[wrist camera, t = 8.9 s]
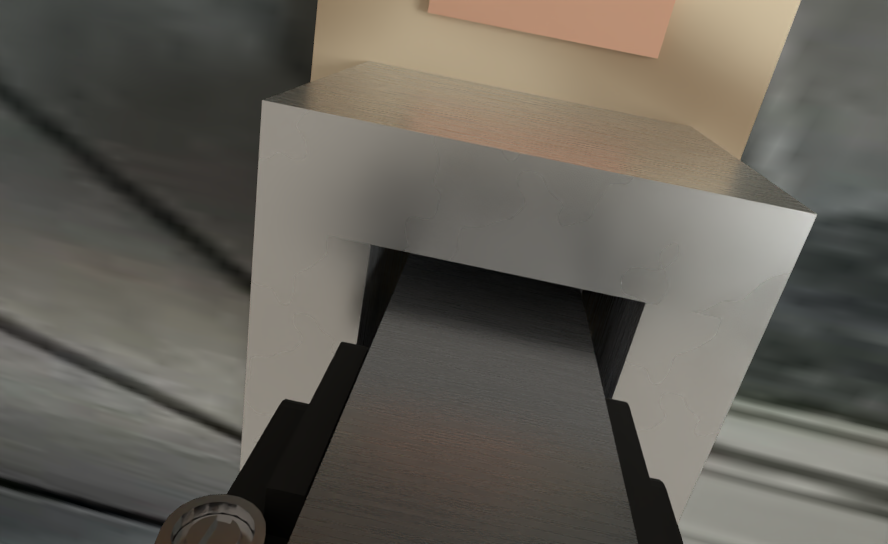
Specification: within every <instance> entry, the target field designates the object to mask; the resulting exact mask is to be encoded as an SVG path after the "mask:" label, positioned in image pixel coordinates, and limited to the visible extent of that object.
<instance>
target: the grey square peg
mask: <svg viewBox="0 0 888 544" xmlns="http://www.w3.org/2000/svg"><path fill="white" fill-rule="evenodd" d="M288 544H638V541H637V537H636V533H635V528H634V524H633V519H632V515H631V511H630V506H629V502H628V497H627V493H626V489H625V484H624V480H623V475H622V471H621V467H620V462H619V458H618V454H617V449H616V445H615V440H614V436H613V432H612V427H611V423H610V418H609V414H608V410H607V405H606V401H605V396H604V392H603V388H602V383H601V379H600V375H599V370H598V366H597V361H596V357H595V353H594V348H593V344H592V339H591V335H590V331H589V326H588V322H587V317H586V313H585V309H584V304H583V300H582V296H581V291H580V289H579V288H575V287H570V286H565V285H560V284H556V283H551V282H546V281H541V280H537V279H532V278H527V277H523V276H518V275H513V274H508V273H504V272H499V271H494V270H489V269H485V268H480V267H475V266H471V265H466V264H461V263H456V262H452V261H447V260H442V259H437V258H433V257H428V256H423V255H419V254H414V253H410V254H409V257H408V259H407V262H406V264H405V266H404V269H403V271H402V273H401V276H400V278H399V281H398V283H397V285H396V288H395V290H394V292H393V295H392V297H391V300H390V302H389V304H388V307H387V309H386V311H385V314H384V316H383V319H382V321H381V323H380V326H379V328H378V330H377V333H376V335H375V337H374V340H373V342H372V345H371V347H370V349H369V352H368V354H367V356H366V359H365V361H364V364H363V366H362V368H361V371H360V373H359V375H358V378H357V380H356V383H355V385H354V387H353V390H352V392H351V394H350V397H349V399H348V402H347V404H346V406H345V409H344V411H343V413H342V416H341V418H340V421H339V423H338V425H337V428H336V430H335V432H334V435H333V437H332V440H331V442H330V444H329V447H328V449H327V451H326V454H325V456H324V458H323V461H322V463H321V466H320V468H319V470H318V473H317V475H316V477H315V480H314V482H313V485H312V487H311V489H310V492H309V494H308V496H307V499H306V501H305V504H304V506H303V508H302V511H301V513H300V515H299V518H298V520H297V523H296V525H295V527H294V530H293V532H292V534H291V537H290V539H289V542H288Z"/></svg>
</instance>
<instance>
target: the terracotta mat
mask: <svg viewBox="0 0 888 544" xmlns="http://www.w3.org/2000/svg"><path fill="white" fill-rule="evenodd" d="M675 1H676V0H430V1H429V7H428V13H432V14H437V15H442V16H447V17H452V18H457V19H462V20H467V21H472V22H477V23H482V24H487V25H492V26H497V27H502V28H507V29H512V30H517V31H522V32H527V33H532V34H537V35H542V36H547V37H552V38H557V39H562V40H567V41H572V42H577V43H582V44H587V45H592V46H597V47H602V48H607V49H612V50H617V51H622V52H627V53H632V54H637V55H642V56H647V57H652V58H657V59H658V56H659V53H660V50H661V47H662V43H663V40H664V37H665V33H666V30H667V27H668V24H669V20H670V17H671V14H672V11H673V7H674V4H675Z"/></svg>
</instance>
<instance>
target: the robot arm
mask: <svg viewBox="0 0 888 544" xmlns="http://www.w3.org/2000/svg"><path fill="white" fill-rule="evenodd" d="M369 349H370V348H369V347H366V346H361V345H357V344H352V343H347V342H341V343H340V345H339V347H338V349H337V351H336V353H335V355H334V356H333V358H332V360H331V362H330V364H329V366H328V368H327V370H326V372H325V374H324V376H323V378H322V380H321V382H320V384H319V386H318V388H317V390H316V391H315V393H314V395H313V397H312V399H311V401H310V403H309V404H307V403H303V402H298V401H293V400H289V399H284V400H283V401H282V402H281V403H280V405H279V406H278V408H277V410H276V411H275V413H274V415H273V417H272V418H271V420H270V422H269V423H268V425H267V427H266V428H265V430H264V432H263V434H262V435H261V437H260V439H259V440H258V442H257V444H256V446H255V447H254V449H253V451H252V452H251V454H250V456H249V457H248V459H247V461H246V463H245V464H244V466H243V468H242V469H241V471H240V473H239V475H238V476H237V478H236V480H235V481H234V483H233V485H232V486H231V488H230V490H229V492H228V493H227V494H218V495H207V496H204V497H200V498H196V499H193V500H191V501H189V502H187V503H185V504H183V505H182V506H180V507H179V508H178V509H176V510H175V511H174V512H173V513H172V514H171V515H169V516H168V518H167V520H166V521H165V523H164V524H163V526H162V527H161V529H160V532H159V534H158V537H157V539H156V541H155V544H288V542H289V539H290V537H291V534H292V532H293V530H294V527H295V525H296V523H297V520H298V518H299V515H300V513H301V511H302V508H303V506H304V504H305V501H306V499H307V496H308V494H309V492H310V489H311V487H312V485H313V482H314V480H315V477H316V475H317V473H318V470H319V468H320V466H321V463H322V461H323V458H324V456H325V454H326V451H327V449H328V447H329V444H330V442H331V440H332V437H333V435H334V432H335V430H336V428H337V425H338V423H339V421H340V418H341V416H342V413H343V411H344V409H345V406H346V404H347V402H348V399H349V397H350V394H351V392H352V390H353V387H354V385H355V383H356V380H357V378H358V375H359V373H360V371H361V368H362V366H363V364H364V361H365V359H366V356H367V354H368V352H369ZM605 401H606V405H607V410H608V414H609V418H610V423H611V427H612V432H613V436H614V440H615V445H616V449H617V454H618V458H619V462H620V467H621V471H622V475H623V480H624V484H625V489H626V493H627V497H628V502H629V506H630V511H631V515H632V519H633V524H634V528H635V533H636V537H637V541H638V544H683V541H682V538H681V534H680V531H679V528H678V525H677V522H676V518H675V515H674V512H673V509H672V505H671V502H670V499H669V496H668V493H667V489H666V487H665V485H664V483H663V482H662V481H661V480H659V479H655V478H650V477H649V474H648V470H647V466H646V463H645V459H644V456H643V452H642V449H641V445H640V442H639V438H638V435H637V431H636V428H635V424H634V421H633V417H632V414H631V410H630V407H629V404H628V403H627V402H624V401H619V400H615V399H610V398H605Z"/></svg>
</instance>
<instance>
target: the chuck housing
mask: <svg viewBox="0 0 888 544" xmlns="http://www.w3.org/2000/svg"><path fill="white" fill-rule="evenodd" d="M816 216H817V214H816V213H815V212H813V211H812V210H810V209H809V208H807V207H806V206H805V205H803V204H802V203H800V202H799V201H797V200H796V199H795V198H793V197H792V196H790V195H789V194H787V193H786V192H785V191H783V190H782V189H780V188H779V187H777V186H776V185H774V184H773V183H772V182H770V181H769V180H767V179H766V178H764V177H763V176H762V175H760V174H759V173H757V172H756V171H754V170H753V169H752V168H750V167H749V166H747V165H746V164H744V163H743V162H742V161H740V160H739V159H737V158H736V157H734V156H733V155H732V154H730V153H729V152H727V151H726V150H724V149H723V148H722V147H720V146H719V145H717V144H716V143H714V142H713V141H712V140H710V139H709V138H707V137H706V136H704V135H703V134H701V133H700V132H699V131H697V130H696V129H694V128H693V127H691V126H687V125H682V124H677V123H672V122H667V121H662V120H657V119H652V118H647V117H642V116H637V115H632V114H627V113H623V112H618V111H613V110H608V109H603V108H598V107H593V106H588V105H583V104H578V103H573V102H568V101H563V100H559V99H554V98H549V97H544V96H539V95H534V94H529V93H524V92H519V91H514V90H509V89H504V88H499V87H495V86H490V85H485V84H480V83H475V82H470V81H465V80H460V79H455V78H450V77H445V76H440V75H435V74H430V73H426V72H421V71H416V70H411V69H406V68H401V67H396V66H391V65H386V64H381V63H376V62H371V61H367V62H364V63H361V64H359V65H356V66H353V67H350V68H348V69H345V70H342V71H340V72H337V73H334V74H331V75H329V76H326V77H323V78H321V79H318V80H315V81H312V82H310V83H307V84H304V85H302V86H299V87H296V88H293V89H291V90H288V91H285V92H283V93H280V94H277V95H275V96H272V97H269V98H266V99H264V100H262V111H261V127H260V144H259V161H258V177H257V194H256V211H255V228H254V244H253V261H252V278H251V294H250V311H249V328H248V344H247V361H246V378H245V394H244V411H243V428H242V444H241V461H240V471H241V469H242V468H243V466H244V464H245V463H246V461H247V459H248V457H249V456H250V454H251V452H252V451H253V449H254V447H255V446H256V444H257V442H258V440H259V439H260V437H261V435H262V434H263V432H264V430H265V428H266V427H267V425H268V423H269V422H270V420H271V418H272V417H273V415H274V413H275V411H276V410H277V408H278V406H279V405H280V403H281V402H282V401H283V400H284V399H289V400H293V401H298V402H303V403H307V404H309V403H310V401H311V399H312V397H313V395H314V393H315V391H316V390H317V388H318V386H319V384H320V382H321V380H322V378H323V376H324V374H325V372H326V370H327V368H328V366H329V364H330V362H331V360H332V358H333V356H334V355H335V353H336V351H337V349H338V347H339V345H340V343H341V342H347V343H352V344H357V345H361V346H366V347H369V348H370V347H371V345H372V342H373V340H374V337H375V335H376V333H377V330H378V328H379V326H380V323H381V321H382V319H383V316H384V314H385V311H386V309H387V307H388V304H389V302H390V300H391V297H392V295H393V292H394V290H395V288H396V285H397V283H398V281H399V278H400V276H401V273H402V271H403V269H404V266H405V264H406V262H407V259H408V257H409V254H410V253H414V254H419V255H423V256H428V257H433V258H437V259H442V260H447V261H452V262H456V263H461V264H466V265H471V266H475V267H480V268H485V269H489V270H494V271H499V272H504V273H508V274H513V275H518V276H523V277H527V278H532V279H537V280H541V281H546V282H551V283H556V284H560V285H565V286H570V287H575V288H579V289H583V290H582V293H581V296H582V300H583V304H584V309H585V313H586V317H587V322H588V326H589V331H590V335H591V339H592V344H593V348H594V353H595V357H596V361H597V366H598V370H599V375H600V379H601V383H602V388H603V392H604V396H605V398H610V399H615V400H619V401H624V402H627V403H628V404H629V407H630V410H631V414H632V417H633V421H634V424H635V428H636V431H637V435H638V438H639V442H640V445H641V449H642V452H643V456H644V459H645V463H646V466H647V470H648V474H649V477H650V478H655V479H659V480H661V481H662V482H663V483H664V485H665V487H666V489H667V493H668V496H669V499H670V502H671V505H672V509H673V512H674V515H675V518H676V522H677V524H678V522H679V520H680V518H681V516H682V513H683V511H684V509H685V507H686V504H687V502H688V500H689V498H690V496H691V493H692V491H693V489H694V487H695V484H696V482H697V480H698V478H699V476H700V473H701V471H702V469H703V467H704V464H705V462H706V460H707V458H708V456H709V453H710V451H711V449H712V447H713V444H714V442H715V440H716V438H717V436H718V433H719V431H720V429H721V427H722V425H723V422H724V420H725V418H726V416H727V413H728V411H729V409H730V407H731V405H732V402H733V400H734V398H735V396H736V393H737V391H738V389H739V387H740V385H741V382H742V380H743V378H744V376H745V373H746V371H747V369H748V367H749V365H750V362H751V360H752V358H753V356H754V353H755V351H756V349H757V347H758V345H759V342H760V340H761V338H762V336H763V334H764V331H765V329H766V327H767V325H768V322H769V320H770V318H771V316H772V314H773V311H774V309H775V307H776V305H777V302H778V300H779V298H780V296H781V294H782V291H783V289H784V287H785V285H786V282H787V280H788V278H789V276H790V274H791V271H792V269H793V267H794V265H795V262H796V260H797V258H798V256H799V254H800V251H801V249H802V247H803V245H804V243H805V240H806V238H807V236H808V234H809V231H810V229H811V227H812V225H813V223H814V220H815V218H816Z"/></svg>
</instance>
